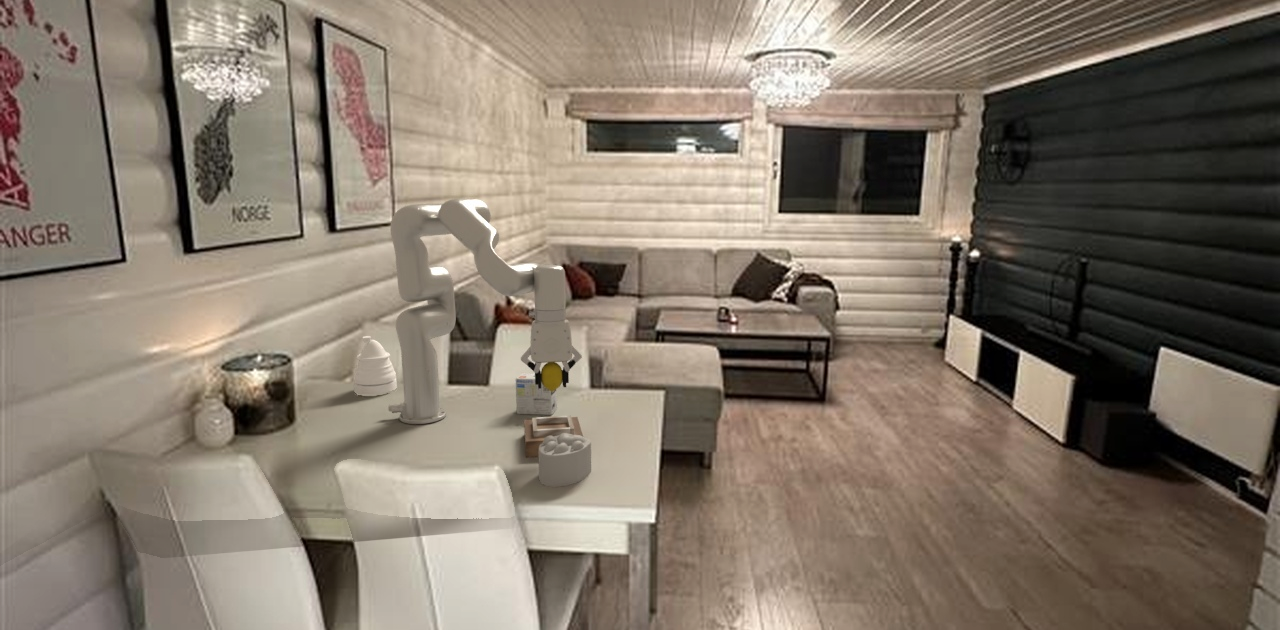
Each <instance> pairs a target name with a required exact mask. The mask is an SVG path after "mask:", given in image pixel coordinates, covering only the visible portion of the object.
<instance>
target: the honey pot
mask: <svg viewBox="0 0 1280 630" xmlns="http://www.w3.org/2000/svg"><path fill="white" fill-rule="evenodd" d="M362 341H363V342H364V343H365V345H364V346H363V348H362V350H361V353H359V354H358V355H356V360H358V361H357V363H356V364H357V365H356V367H355V371H354V375H353V391H354V392H355V393H358V394H374V393H383V392H388V391H392V390H395V389H396V388H397V389H398V382H397V373H396V371H395V369H394V366H393V363H392V362H391V359H390V357H391V354H390V352H387V351H386V350H385V348H384V347H383V345H382V344H381V343H380V342H379V341H377V340H375V339H372V336H371V335H366V336H365V335H364V336H362ZM355 393H354V394H355Z"/></svg>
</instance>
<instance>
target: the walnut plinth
mask: <svg viewBox="0 0 1280 630" xmlns="http://www.w3.org/2000/svg"><path fill="white" fill-rule="evenodd" d="M523 422H524V424H523V425H524V428H523V429H524V444H525V445H524V448H525V457H526V458H536V457H535V456H538V457H539V452H538V451H539V446H540V444H542V443H543V440H544V438H545V437H547V436H550V435H551V436H553V437H554V436H557V435H561V434H562V433H568V434H572V435H580V436H582V437H584V435H583V431H582V428H581V424H580V421H579V418H578V416H571V415H558V416H557V415H556V416H555V415H554V416H542V417H541V416H539V417H538V416H537V417H531V419H523Z"/></svg>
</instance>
